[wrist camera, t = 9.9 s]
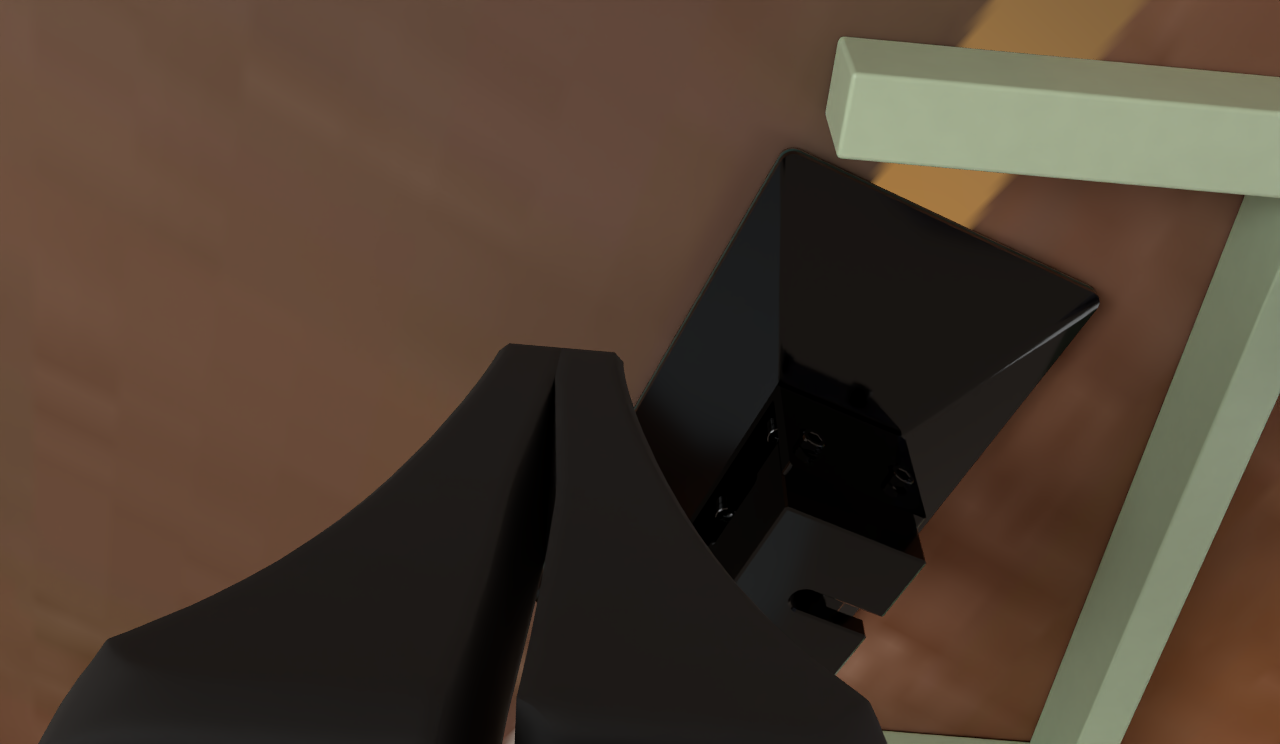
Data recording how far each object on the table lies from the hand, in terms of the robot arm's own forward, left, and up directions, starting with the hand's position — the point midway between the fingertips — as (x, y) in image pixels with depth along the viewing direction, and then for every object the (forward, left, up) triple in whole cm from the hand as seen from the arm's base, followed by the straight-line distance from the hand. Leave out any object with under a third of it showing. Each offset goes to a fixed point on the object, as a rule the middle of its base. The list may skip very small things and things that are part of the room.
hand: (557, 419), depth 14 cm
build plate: (-4, +7, -10) cm, 13 cm away
